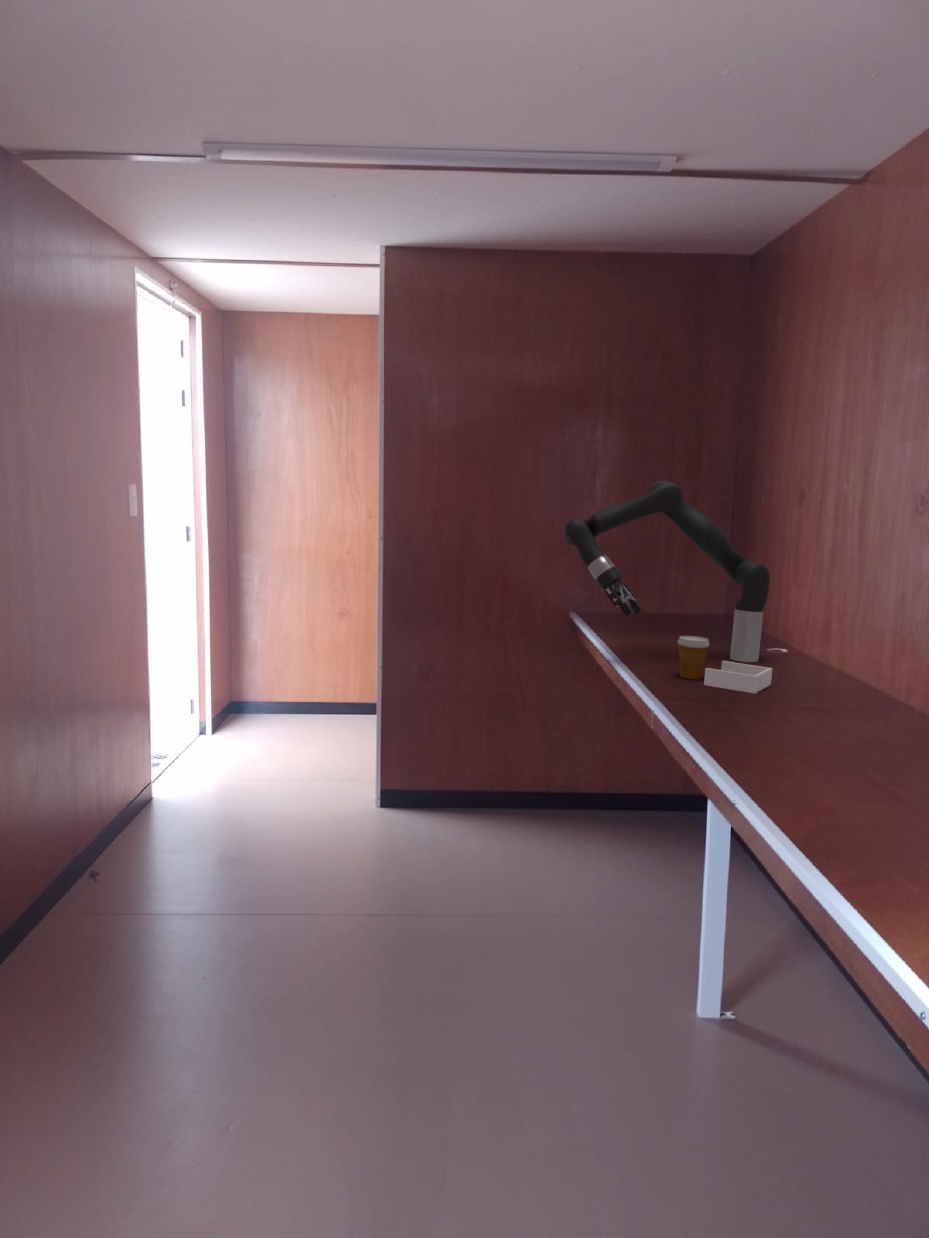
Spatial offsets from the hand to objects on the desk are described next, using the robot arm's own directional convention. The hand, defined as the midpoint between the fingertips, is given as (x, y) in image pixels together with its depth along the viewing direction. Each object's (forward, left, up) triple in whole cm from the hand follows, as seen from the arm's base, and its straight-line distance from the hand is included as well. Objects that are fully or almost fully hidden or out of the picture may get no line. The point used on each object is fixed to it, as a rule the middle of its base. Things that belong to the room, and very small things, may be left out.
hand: (634, 613), depth 280 cm
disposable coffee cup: (-1, +20, -17) cm, 26 cm away
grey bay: (-1, +34, -17) cm, 38 cm away
